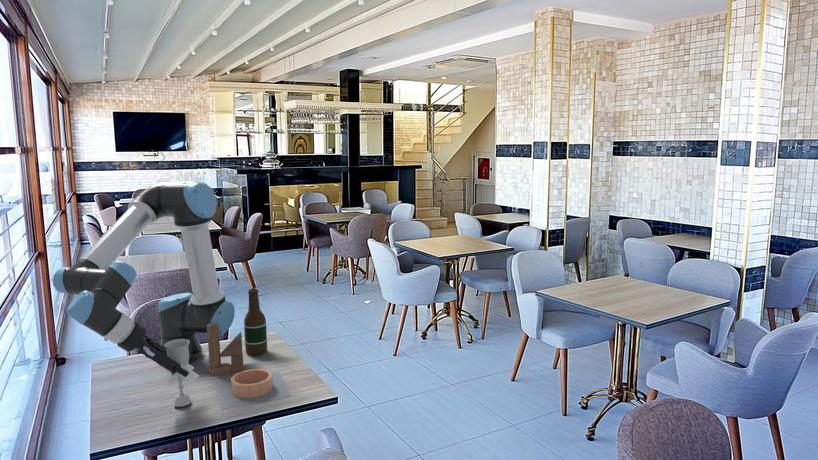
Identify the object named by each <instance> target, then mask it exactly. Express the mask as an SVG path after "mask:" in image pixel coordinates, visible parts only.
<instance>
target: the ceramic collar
mask: <svg viewBox="0 0 818 460" xmlns="http://www.w3.org/2000/svg"><path fill="white" fill-rule="evenodd" d="M272 373H273V372H271V371H270V370H267V369H264V368H263V369H262V368H261V369H260V368H251V369H246V370H243V371H242V372H236V373H235V374H234V375H232V377H230V380H231V390H232V395H234V396H236V397H239V398H254V397H259V396H262V395H265V394H267V393H269V392H270V391H271V390H272V388H273V378H272ZM253 382H258V383H253ZM247 383H252V384H247Z"/></svg>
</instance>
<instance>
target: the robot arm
mask: <svg viewBox="0 0 818 460" xmlns="http://www.w3.org/2000/svg"><path fill="white" fill-rule="evenodd" d="M217 203H218V201H217V195H216V194H215V192H214V190H213V188H212V187H211V186H210V185H209V184H207V183H205V182H200V181H193V180H190V181H160V182H158V183H155V184H153V185H151V186H149V187H147V188H146V189H144V190H143V191H141V192H140V193H139V194H137V196H135V197H134V198H133V199H132V200H131V201H130V202H129V203H128V204H127V210H126V211H124V213H123V214H122V215H121V216H120V217H118V219H117V220H116V221H115V222H114V223H113V224H112V225H111V226H110V227H109V228H108V229H107V230H106V231H105V232H104V233H103V234H102V235H101V236H100V237H99V238H98V239H97V240H96V241H95V242H94V243H93V244H92V246H90V247H89V249H88V250H86V251H85V253H84V254H83V255H82V256H81V257H80V258H79V259H78V260H77V261H76V262H75V263H74V264H73V265H71V266H64V267H61V268H59V269H57V270H56V271H55V273H54V275H53V276H52V277H53V278H52V285H53V288H54V289H55V290H56V291H57V292H59V293H60V294H64V295H65V294H66V295H69V296H70V295H71V296H75V295H76V296H75V297H74V299H73V300H72V301H71V302H70V304H69V305H68V306H67V308H66V314H67V315H68V316H69V317H70V318H72V319H73V320H74V321H76V322H78V323H79V324H80V325H82V326H84V327H86V328H88V329H89V330H91V331H93V332H95V333H96V334H98V335H99V336H101V337H103V338H104V339H103V341H104V342H108V341H109V342H111V343H112V344H115V345H117V347H119V348H120V349H122V350H123V351H125V352H127V353H130V352H133V351H134V350H135V349H137V350H138V352H139V353H140V354H142V355H143V356H144V357H146V358H147V359H150V360H151V361H153V362H155V363H156V364H158V365H160V366H161V367H162V368H164V369H166V370H168V371H169V372H171V375H172V376H174V375H175V373H176V374H178V375H179V376H181V377H182V379H183V380H186V381H187V382H189V383H190V384H195V382H196V381H197V380H198V379H199V378H200V375H199V374H198V373H197V372H195V371H193V370H194V369H195V367H193V365H191V363H194V362H196V361H198V360H200V359H201V358H202V357H203V355H204V353H203V347H202V345H201V343H200V340H199V339H198V335H197V333H198V334H207V325H208V324H210V323H217V324H218V326H219V335H223V334H225V333H226V332H227V331H228V330H229V329H230V328H231V326H232V324H233V321H234V319H235V314H236V313H235V312H236V311H235V309H236V308H235V305H234V303H233V302H232V301H230V300H226V294H225V292H224V291H223V290H221V289H220V287H219V286H220V285H219V281H218V275H217V268H216V262H215V258H214V253H213V245H212V241H211V234H210V229H209V224H210V223H211V222H212V220H213V219H212V217H213V216H214V215H215V213H216V212H217V211H216V210H217V206H218V204H217ZM166 217H168V218H169V217H170V218H173V221H174V226H175V227H177V228H178V229H180V232H181V238H182V241H183V247H184V252H185V257H186V263H187V269H188V274H189V275H188V276H189V279H190V284H191V290H192V293H191V292H182V293H177V294H173V295H172V294H171V295H168V296H166V297H164V298H162V299H160V300H159V301H158V319H159V330H160V331H159V332H160V338H161V339H160V343H158V342H156V341H155V340H153V339H152V338H151V337H148V336H147V330H148V329H147V328H146V327H144V326H143V325H141V323H138V322H135V320H134V319H133V318H131V317H129V316H128V315H126V313H125V314H124V313H123V312H122V311H120V310H118V309H117V307H118V305H119V304H120V303H121V302H122V300H123V298H124V297H125V296H126V294H127V293H128V292H129V289H130V288H131V287H132V285H133V283H134V282H135V280H136V278H137V274H138V273H137V270H135V269H134V267H133V266H132V265H131V264H129V263H127V262H125V261H121V260H118V259H119V258H120V256H121V255H122V254H123V253H124V252H125V251H126V250H127V248H128V247H129V246H130V245H131V244H132V243H133V242H134V241H135V240H136V239H137V238H138V236H140V234H141V233H142V232H143V231H144V230H145V229H146V227H148V226H151V225H153V224H155V223H156V222H157V220H159V219H163V218H166ZM176 339H187V340H189V341H190V343H189V345H188V347H189V362H188V365H187V367H185V366H184V365H182V364H179V363H177V362H176V361H174V360H173V359H172V358H170V357H169V356H167V350H166V348H165V346H164V344H165V343H167V342H169V341H171V340H176ZM178 375H177V376H178Z"/></svg>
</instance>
